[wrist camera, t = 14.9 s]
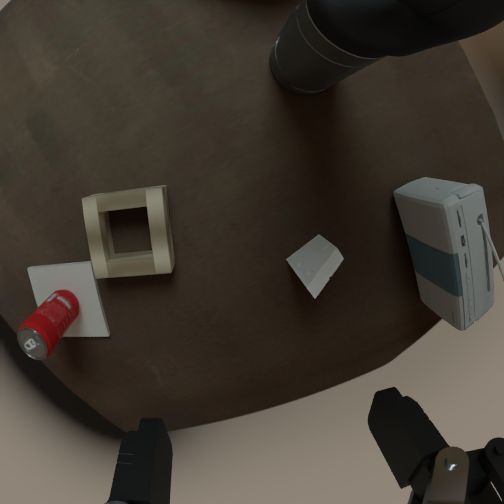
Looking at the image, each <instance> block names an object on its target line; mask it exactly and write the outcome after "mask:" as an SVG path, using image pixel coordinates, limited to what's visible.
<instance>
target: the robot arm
mask: <svg viewBox="0 0 504 504" xmlns="http://www.w3.org/2000/svg"><path fill="white" fill-rule="evenodd" d="M503 20H504V0H302V1H301V2H300V4H299V5H298V6H296V7H295V8H294V10H293V12H292V13H291V15H290V17H289V18H288V20H287V22H286V23H285V25H284V27H283V29H282V30H281V32H280V34H279V39H278V40H277V42H276V44H275V46H274V47H273V49H272V52H271V54H270V67H271V71H272V73H273V75H274V77H275V78H276V80H277V81H278V82H279V83H280V84H281V85H282V86H284V87H285V88H286V89H288V90H290V91H292V92H295V93H298V94H303V95H312V94H316V93H319V92H321V91H323V90H326V89H327V88H328V87H330V86H332V85H334V84H336V83H337V82H339V81H341V80H343V79H345V78H346V77H348V76H350V75H352V74H354V73H355V72H357V71H359V70H361V69H363V68H365V67H367V66H369V65H370V64H372V63H374V62H376V61H378V60H380V59H382V58H384V57H386V56H407V55H410V54H414V53H417V52H420V51H423V50H426V49H429V48H432V47H436V46H439V45H443V44H447V43H451V42H454V41H458V40H461V39H465V38H468V37H471V36H474V35H476V34H479V33H482V32H484V31H486V30H488V29H490V28H492V27H494V26H496V25H497V24H499V23H501V22H502V21H503ZM368 425H369V428H370V431H371V433H372V435H373V437H374V438H375V440H376V442H377V444H378V446H379V448H380V450H381V452H382V454H383V456H384V457H385V459H386V461H387V463H388V465H389V467H390V469H391V471H392V472H393V475H394V476H395V478H396V480H397V482H398V484H399V486H400V488H401V489H402V488H404V487H407V486H409V485H411V487H412V489H413V490H412V491H411V494H410V498H409V501H408V504H504V438H494V439H492V440H490V441H489V442H488V443H487V445H486V446H485V448H482V449H477V450H473V451H467V452H465V451H464V450H462V449H460V448H458V447H450V446H449V445H448V444H447V443H446V441H445V440H444V438H443V437H442V436H441V434H440V433H439V431H438V430H437V429H436V427H435V426H434V424H433V423H432V422H431V420H429V418H428V416H427V415H426V413H424V411H423V409H422V408H421V407H420V405H419V404H418V403H417V402H416V401H415V400H413V399H412V398H410V397H408V396H405V397H402V395H401V394H400V392H399V391H398V390H397V388H395V387H392V388H388V389H384V390H381V391H377V392H376V393H375V395H374V398H373V402H372V405H371V409H370V412H369V415H368ZM172 454H173V453H172V445H171V441H170V438H169V435H168V433H167V430H166V427H165V425H164V422H163V420H162V418H141V420H140V424H139V429H138V431H129V432H128V433H127V434H126V436H125V437H124V438H123V439H122V441H121V445H120V450H119V455H118V459H117V464H116V469H115V473H114V478H113V483H112V488H111V493H110V497H109V500H108V501H107V503H106V504H170V487H171V471H172V456H173V455H172ZM490 482H492V483H493V485H494V487H495V488H496V490H497V491H498V493H499V495H500V497H501V499H502V501H501V500H500V498H499V496H498V495H497V493H496V491H495V489H494V488H493V486H492V484H491V483H490Z"/></svg>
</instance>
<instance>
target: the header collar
mask: <svg viewBox="0 0 504 504" xmlns="http://www.w3.org/2000/svg"><path fill="white" fill-rule="evenodd" d="M82 205H83V212H84V219H85V226H86V232H87V238H88V244H89V249H90V255H91V260H92V265H93V270H94V274H95V279H97V278H111V277H125V276H138V275H151V274H164V273H172V270H173V268H174V265H175V257H174V249H173V241H172V232H171V223H170V214H169V204H168V193H167V185H163V186H154V187H146V188H138V189H130V190H122V191H115V192H108V193H101V194H95V195H91V196H88V197H85V198H82ZM145 206H147V211H148V220H149V228H150V236H151V243H152V250H150V251H139V252H128V253H117V254H115V252H114V246H113V239H112V233H111V226H110V219H109V212H108V211H112V210H120V209H128V208H137V207H145Z"/></svg>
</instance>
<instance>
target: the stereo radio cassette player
mask: <svg viewBox="0 0 504 504" xmlns="http://www.w3.org/2000/svg"><path fill="white" fill-rule="evenodd" d="M393 195H394V198H395V201H396V205H397V208H398V211H399V214H400V217H401V221H402V224H403V228H404V231H405V235H406V239H407V242H408V246H409V250H410V254H411V258H412V262H413V266H414V270H415V275H416V279H417V284H418V288H419V293H420V297H421V300H422V301H423V303H424V304H425V305H426V306H428V307H429V308H430V309H431V310H432V311H434V312H435V313H436V314H437V315H439V316H440V317H441V318H442V319H444V320H445V321H447V322H448V323H449V324H451V325H452V326H453V327H455V328H457V329H458V330H461V331H462V330H466V329H467V328H468V327H469V326H470V325H472V324H473V323H474V321H476V320H479V319H480V318H481V317H482V316H483V315H484V314H485V313H486V312H487V311H488V310H489V309H490V308H491V307H492V305H493V303H494V280H493V262H492V251H493V254H494V256H495V259H496V261H497V264H498V266H499V269H500V272H501V274H502V277H503V280H504V271H503V268H502V265H501V263H500V260H499V258H498V255H497V253H496V250H495V248H494V245H493V243H492V240H491V238H490V231H489V224H488V217H487V210H486V204H485V199H484V193H483V188H482V187H481V186H479V185H476V184H469V185H468V184H463V183H458V182H452V181H446V180H440V179H434V178H427V177H424V178H420V179H417V180H414V181H412V182H410V183H408V184H405V185H404V186H402V187H400V188H398V189H396V190H395V191H394V192H393ZM491 249H492V250H491Z"/></svg>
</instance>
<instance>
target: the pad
mask: <svg viewBox="0 0 504 504" xmlns="http://www.w3.org/2000/svg"><path fill="white" fill-rule="evenodd" d="M27 269H28V273H29V277H30V281H31V285H32V288H33V292H34V295H35V299H36V302H37V305H38V307H39V306H40V305H41V304H42V303H43V302H44V301H45V300H46V299H47V298H48V297H49V296H50V295H51V294H52V293H53V292H55V291H57V290H62V289H66V290H69V291H71V292H72V293H73V294H74V295H75V296H76V297H77V299H78V301H79V314H78V316H77V318H76V319H75V320H74V322H73V323H72V324H71V326H70V327H69V328H68V330H67V331H66V332H65V334H64V335H63V337H109V336H110V331H109V327H108V324H107V320H106V317H105V313H104V309H103V305H102V301H101V297H100V293H99V289H98V284H97V280H96V279H95V274H94V270H93V265H92V261H86V262H75V263H64V264H53V265H43V266H32V267H29V268H27Z"/></svg>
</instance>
